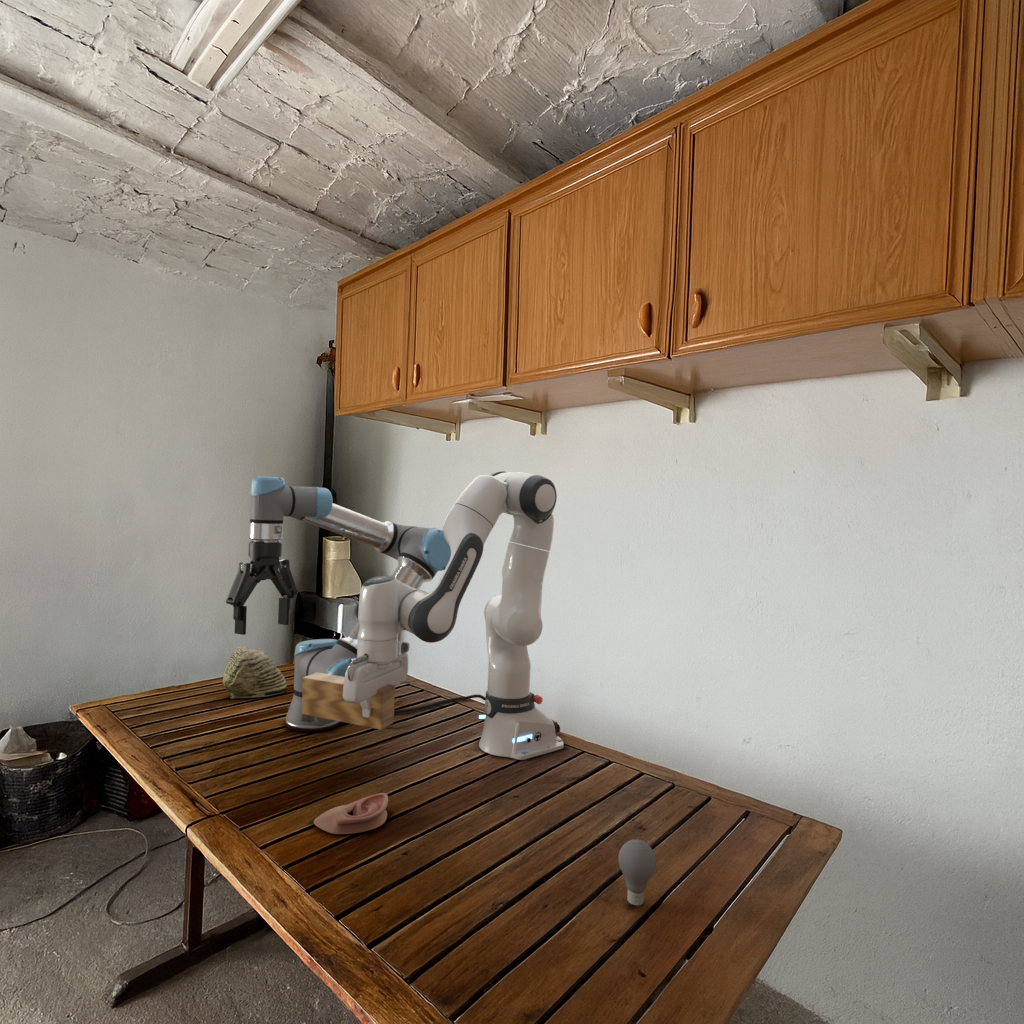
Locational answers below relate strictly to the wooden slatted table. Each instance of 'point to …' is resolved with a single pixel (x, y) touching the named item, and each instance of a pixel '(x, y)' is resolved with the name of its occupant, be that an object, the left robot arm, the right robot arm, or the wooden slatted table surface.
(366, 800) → the anatomical model
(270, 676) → the fossil
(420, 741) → the wooden slatted table surface
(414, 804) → the wooden slatted table surface
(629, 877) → the light bulb
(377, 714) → the bar
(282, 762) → the wooden slatted table surface
